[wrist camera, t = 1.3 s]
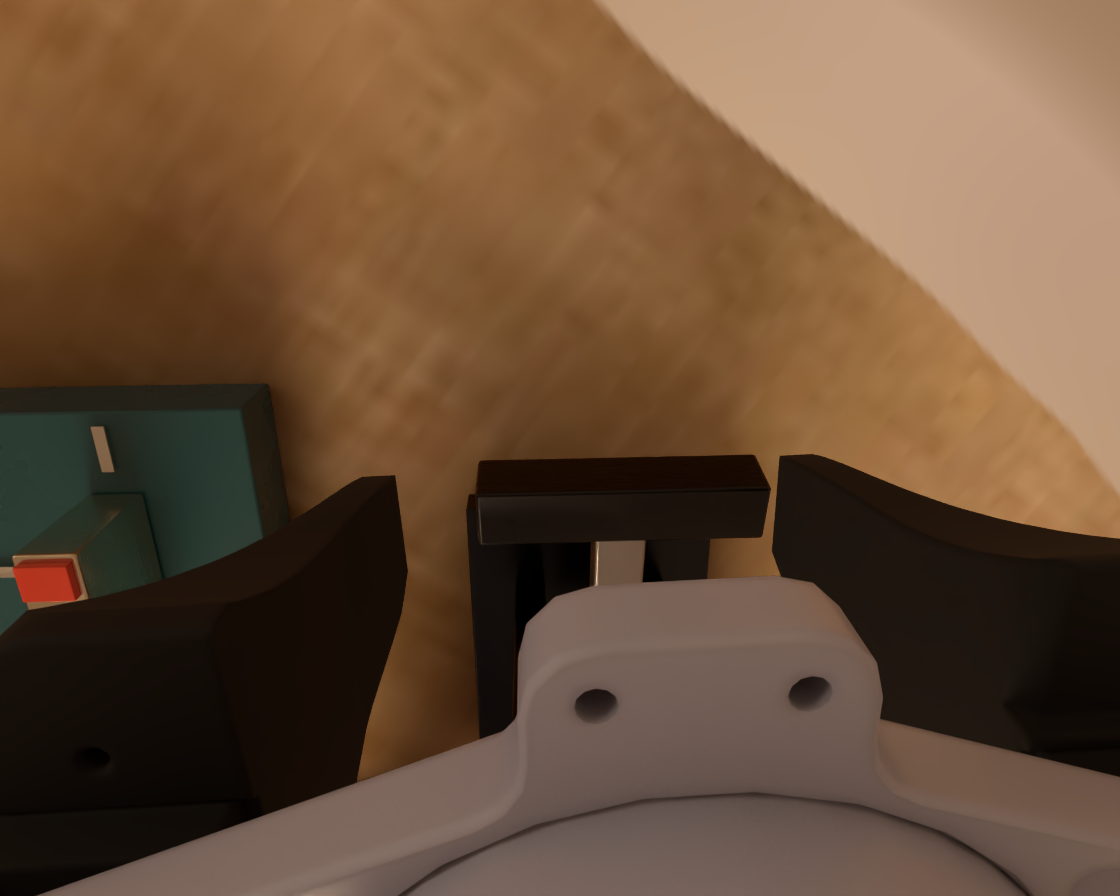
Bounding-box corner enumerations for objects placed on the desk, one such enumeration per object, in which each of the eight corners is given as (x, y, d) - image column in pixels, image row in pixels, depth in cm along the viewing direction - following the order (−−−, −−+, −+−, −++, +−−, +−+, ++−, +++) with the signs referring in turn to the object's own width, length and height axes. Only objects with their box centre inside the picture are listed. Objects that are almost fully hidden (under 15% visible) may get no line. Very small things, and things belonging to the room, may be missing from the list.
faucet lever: (479, 445, 17) (473, 511, 15) (749, 439, 17) (780, 503, 15) (499, 760, 22) (497, 838, 20) (699, 753, 23) (716, 829, 21)
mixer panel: (334, 690, 28) (315, 743, 26) (42, 700, 28) (-5, 755, 25) (288, 382, 24) (261, 410, 21) (-60, 388, 23) (-130, 417, 21)
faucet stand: (468, 493, 25) (441, 661, 17) (705, 488, 26) (789, 649, 17) (481, 728, 29) (465, 956, 21) (687, 721, 29) (750, 943, 21)
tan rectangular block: (177, 635, 24) (116, 721, 20) (125, 636, 24) (55, 723, 20) (143, 492, 22) (69, 559, 18) (87, 493, 22) (2, 561, 18)
